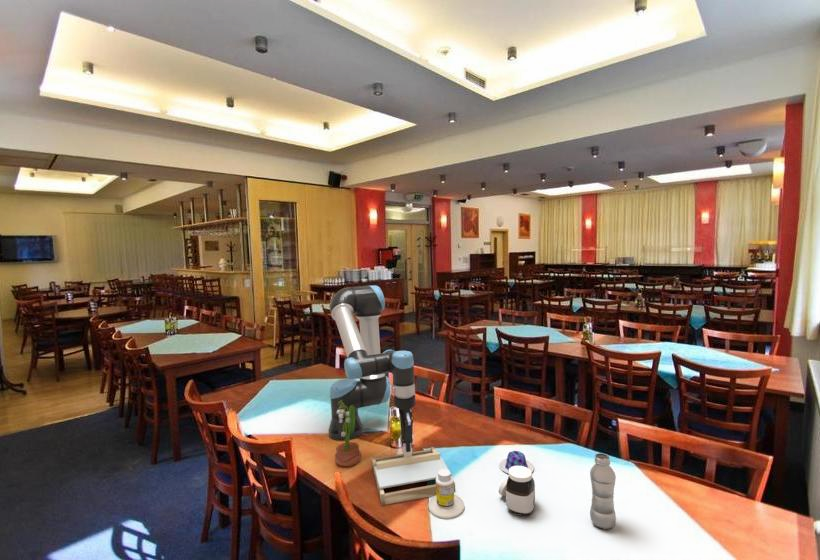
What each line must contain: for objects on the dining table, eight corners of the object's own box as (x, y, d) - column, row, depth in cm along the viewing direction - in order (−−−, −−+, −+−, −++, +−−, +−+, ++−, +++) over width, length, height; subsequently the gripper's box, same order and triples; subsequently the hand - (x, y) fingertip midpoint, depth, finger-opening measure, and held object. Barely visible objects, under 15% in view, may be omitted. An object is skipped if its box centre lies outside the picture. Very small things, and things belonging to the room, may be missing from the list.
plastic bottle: (585, 518, 116) (584, 451, 115) (607, 515, 117) (607, 449, 116) (597, 533, 110) (596, 463, 109) (621, 531, 111) (620, 461, 109)
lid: (374, 468, 142) (374, 461, 142) (440, 458, 147) (440, 451, 147) (379, 488, 130) (379, 481, 130) (451, 476, 135) (451, 468, 135)
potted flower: (354, 472, 147) (350, 405, 145) (329, 470, 149) (324, 404, 147) (364, 455, 158) (361, 393, 157) (341, 454, 160) (337, 393, 159)
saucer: (424, 499, 129) (424, 496, 129) (457, 493, 131) (457, 490, 131) (434, 522, 118) (434, 518, 118) (469, 515, 120) (469, 511, 120)
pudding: (540, 474, 140) (540, 459, 140) (509, 480, 138) (508, 465, 137) (523, 457, 152) (523, 444, 152) (494, 462, 149) (493, 449, 149)
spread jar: (529, 522, 116) (528, 483, 115) (491, 510, 122) (490, 473, 121) (539, 499, 126) (538, 463, 125) (504, 489, 132) (503, 455, 131)
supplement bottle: (439, 497, 128) (438, 466, 127) (456, 500, 126) (455, 468, 125) (434, 507, 123) (433, 475, 122) (451, 511, 121) (450, 478, 120)
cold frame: (371, 463, 152) (371, 456, 152) (433, 453, 157) (433, 446, 157) (381, 505, 127) (381, 496, 127) (455, 491, 132) (454, 483, 132)
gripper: (391, 390, 149) (394, 451, 151) (397, 402, 136) (401, 469, 138) (410, 387, 150) (413, 448, 152) (419, 400, 138) (422, 466, 140)
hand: (407, 458), depth 145 cm, fingers closed
